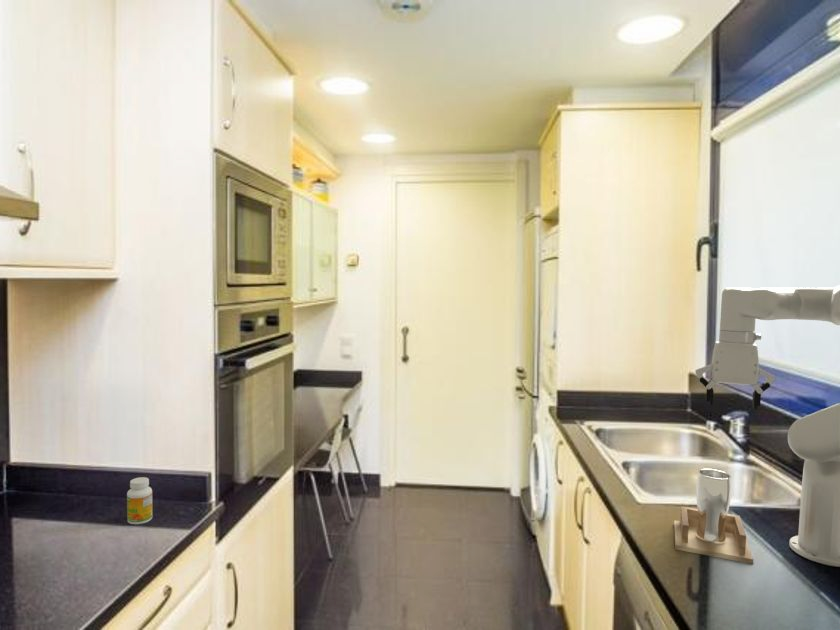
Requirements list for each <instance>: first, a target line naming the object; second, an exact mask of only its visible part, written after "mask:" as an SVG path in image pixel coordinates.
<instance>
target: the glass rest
mask: <svg viewBox="0 0 840 630" xmlns="http://www.w3.org/2000/svg"><path fill="white" fill-rule="evenodd" d="M680 507H681V508H680V519H679V520H676V519H674V521H673V530H674V547H675V548H674V549H675V550H677V551H682V552H687V553H693V554H698V555H699V554H700V555H703V556H709V557H715V558H720V559H725V560H731V561H735V562H741V563H746V564H751V565H753V564H754V557H753V554H752V551H751V548H750V545H749V542H748V538H747V534H746V531H745V527H744V524H743V522H742V518H741V516H740V515H739V514H733V513H731V514H730V513H727V517H726V521H725V536H726V542H725V543H723V544H711V543H707V542H704V541H702V540H700V539H698V538H697V536H696V531H697V528H698V523H699V515H698V508H693V507H689V506H688V507H687V506H683V505H682V506H680Z"/></svg>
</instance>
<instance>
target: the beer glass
mask: <svg viewBox="0 0 840 630" xmlns="http://www.w3.org/2000/svg"><path fill="white" fill-rule="evenodd" d="M695 489H696V490H695V492H696V493H695V495H696V496H695V498H696V506H697V509H698V515H699V523H698V528H697V531H696V536H697V538H698V539H700V540H702V541H704V542H707V543H711V544H723V543H725V542H726V536H725V521H726V517H727V514H729V513H728V512H729V509H730V504H731V499H732V475H731V474H730V473H727V472H725V471H723V470H719V469H718V470H717V469H714V468H713V469H712V468H703V469H699V470H698V474H697V479H696V488H695Z"/></svg>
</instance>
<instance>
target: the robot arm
mask: <svg viewBox="0 0 840 630" xmlns="http://www.w3.org/2000/svg"><path fill="white" fill-rule="evenodd" d="M756 319H757V320H761V321H774V320H775V321H776V320H802V321H803V320H805V321H822V322H828V323H832V324H834V325H836V326H840V285H837V286H835V287H817V288H815V287H811V288H810V287H806V288H805V287H804V288H803V287H799V288H798V287H760V288H752V287H726V288H724V289H723V291H722V293H721V304H720V321H719V335H718V337H719V339H718V341H715V342H714V347H713V350H712V354H711V355H712V356H711V363H710V364H707V365H704V366H703V367H700V368H697V369H695V374H696V377H697V379H698V380H699V382H700V383H701V384H702V385H703V386H704V387H705V388H706V395H705V401H706V402H708V405H709V406H713V405H714V393H715V392H714V391H715V390H714V388H713V387H714V386H715V385H717V384H718V383H720V384H727V385H729V384H730V385H741V386H752V388H753V389H754V391H752V403H751V404H752V405H751V407H752V409H753V410H755V411H758V407H760V406H761V399H762V394H763V393H764V392H765V391H766V390H768V389H769V388H770V387H771V385H772V384H773V382H775V379H776V376H775V375H773V374H772V373H769V372H767V370H764V369H762V368H760V367H759V365H760V364H759V363H760V361H759V351H758V345H757V344H756V343H755V342H756V341H759V340H762V334H761V333H756ZM707 372H710V379H709V380H707V379H706V378H705V377H704V374H705V373H707ZM759 375H761V376H762V377H764V378H765V382H763V383H762V384H760V385H759V384H758V382H759ZM787 443H788V446H789V448H790V450H792V452H793V453H794V454H795V455H796V456H798V458H800V459H802V460H804V462H803V469H802V481H801V490H800V491H801V492H800V506H799V520H798V521H799V522H798V532H797V533H798V534H797V535H795V536H792V537H791V538H790V539H789V542H788V543H789V548H791V550H792V551H794V553H796V554H797V555H799V556H801V557H803V558H805V559H807V560H810V561H812V562H816V563H819V564H821V565H826V566H830V567H837V568H840V402H839V403H836V404H833V405H831V406H829V407H826V408H822V409H819V410H817V411H815V412H813V413H810V414H808V415H804V416H802V417H801V418H798V419H796V420H795V421H794V422H792V424H791V425H790V427H789V429H788V431H787Z"/></svg>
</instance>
